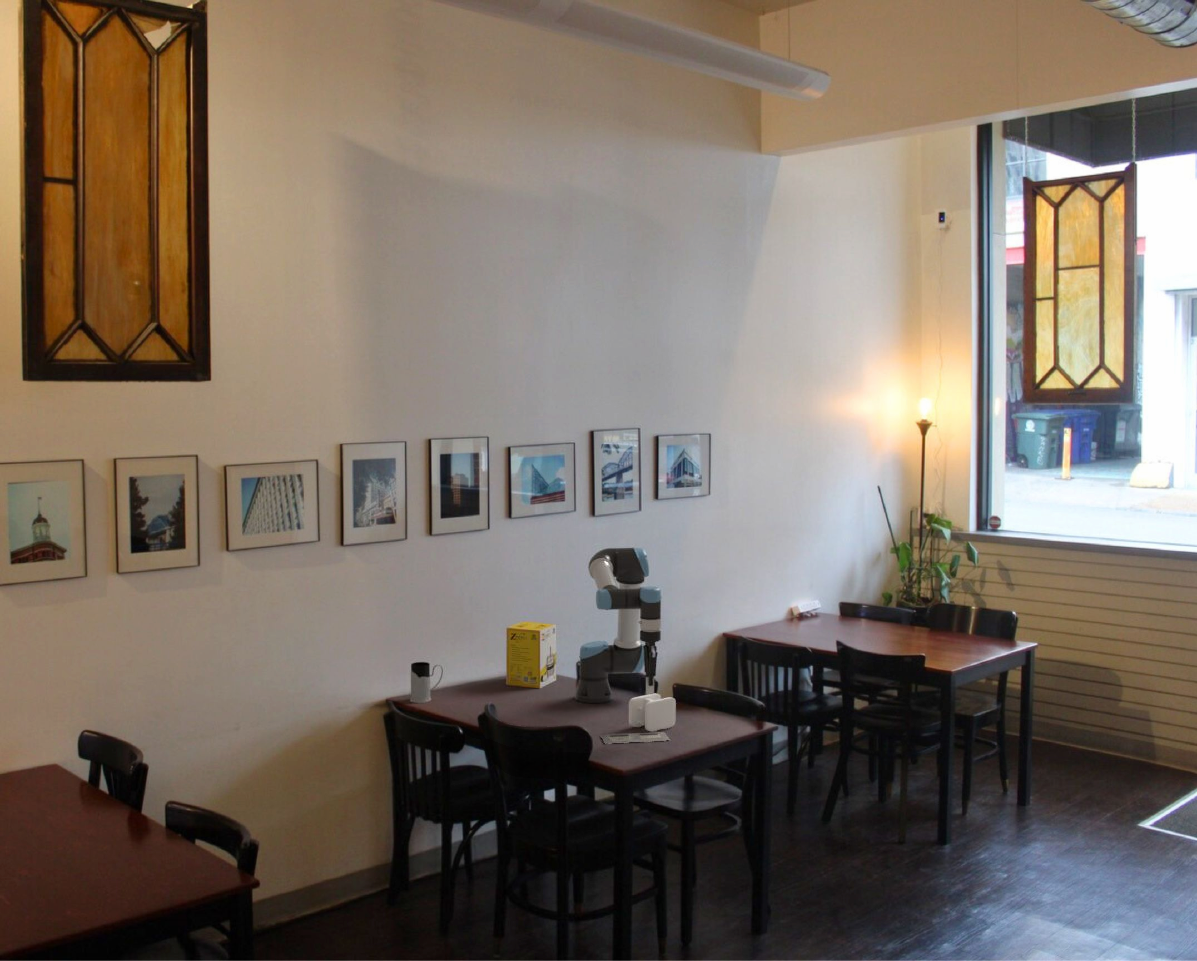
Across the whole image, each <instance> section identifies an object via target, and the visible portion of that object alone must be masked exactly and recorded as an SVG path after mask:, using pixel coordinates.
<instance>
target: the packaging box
mask: <svg viewBox="0 0 1197 961" xmlns="http://www.w3.org/2000/svg"><path fill="white" fill-rule="evenodd" d="M505 635H506V638H505V639H506V643H505V644H506V657H505V658H506V659H505V660H506V662H505V663H506V664H505V665H506V668H505V669H506V685H507V686H516V687H523V688H524V687H525V688H532V689H542V688H543V687H544V688H545V687H546V686H547V685H549V684H551V683H554V682H556V681H557V624H553V623H546V622H533V621H521V622H519V623H515V624H513V625H511V626H508V627H506V632H505Z"/></svg>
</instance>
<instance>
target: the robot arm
mask: <svg viewBox="0 0 1197 961" xmlns="http://www.w3.org/2000/svg"><path fill="white" fill-rule="evenodd" d="M587 568H588V572H589V575H590V578H592V579H594V583H595V585H596V588H597V590H596V591H595V592H596V594H595V604H596V608H597V610H605V611H610V610H611V611H612V610H614V611H615V610H618V613H617V637H615V638H614V639H613V644H609V643H608V641H605V640H602V641H601V640H597V641H590V642H586V643H584V644H583V645H581V646H580V649H579V681H578V685H577V688H576V691H575V694H574V695H575V696H574V697H575V700H576V701H577V700H578V702H581V703H585V702H586V703H587V704H601V703H603V704H604V703H607V702H610V701H611V700H613V692H612V689H611V687H610V686H611V685H610V683H609V678H608V677H609V674H634V673H635V674H637V673H640V672H641V671H642V670H643V668H644V673H645V695H648V694H654V693H655V677H656V675H657V674H656V673H657V660H658V659H657V657H658V652H657V651H658V650H657V646H656V643H657V642H660V641H661V636H662V633H661V632H662V631H661V629H662V621H661V620H662V618H661V611H662V610H661V609H662V608H661V607H662V604H661V602H662V594H661V593H662V591H661V588H659V587H658V586H657V587H656V586H642V585H643V583H645V578H647V577H649V576H650V566H649V559H648V555H647V551H646V550H645V549H644V548H641V547H618V548H617V547H615V548H612V547H608V548H603V549H601V550H599V551H597V552H596V553H595V554H594V555H593V556H592V557H591V558H590V560H589V563H588V567H587ZM618 584H619V585H618ZM641 586H642V587H641ZM639 629H640V630H639ZM642 642H644V644H642ZM586 703H585V704H586Z"/></svg>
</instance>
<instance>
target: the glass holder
mask: <svg viewBox="0 0 1197 961" xmlns="http://www.w3.org/2000/svg"><path fill="white" fill-rule="evenodd" d="M436 667H441V668H440V669H441V675H440V678H439V680H438V681H437V683H436V684H435V685H434V686H433V687H432V688H431V677H432V676H434V675H435V673H434V672H435V668H436ZM430 672H431V673H432V674H430ZM443 672H444V669H443V667H442V666H441V665H440V664H436V665H434V666H433V667H432V671H431V670H430V663H429V662H426V661H417V662H413V663H411V665H410V699H409V701H410V702H411V703H414V704H415V703H416V704H422V703H429V702H430V701H432V698H431V693H432V692H433V690H434V689H436V687H437V686H438V685H439V684H440V682H441V680H442V678H443V674H444V673H443Z"/></svg>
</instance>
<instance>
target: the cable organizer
mask: <svg viewBox="0 0 1197 961" xmlns="http://www.w3.org/2000/svg"><path fill="white" fill-rule="evenodd" d="M676 704H677V703H676V699H675V698H673V697H671V696H670V697H669V696H668V697H664V698H662V696H661V694H660V693H656V692H654V694H645V695H640V696H636V697H632V698H631V699H629V701H628V725H629V726H630V727H633V728H636V727H637V728H640V727H641V726H642V727H643V726H644V728H645V730H646V731H648V732H649V733H653V732H654V731H655V732H658V731H659V730H667V728H668V729H671V728H672V727H674V725H675V724H676V715H677V714H676V712H677V711H676V710H677V709H676V708H677V707H676ZM670 727H671V728H670ZM657 730H658V731H657Z"/></svg>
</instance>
